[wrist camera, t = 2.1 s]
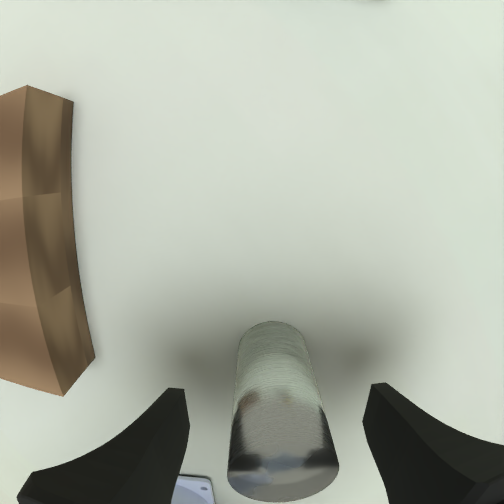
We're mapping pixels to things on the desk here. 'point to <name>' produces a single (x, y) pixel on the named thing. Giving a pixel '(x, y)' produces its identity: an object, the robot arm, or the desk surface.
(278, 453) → the pin
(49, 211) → the block
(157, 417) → the robot arm
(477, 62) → the desk surface
